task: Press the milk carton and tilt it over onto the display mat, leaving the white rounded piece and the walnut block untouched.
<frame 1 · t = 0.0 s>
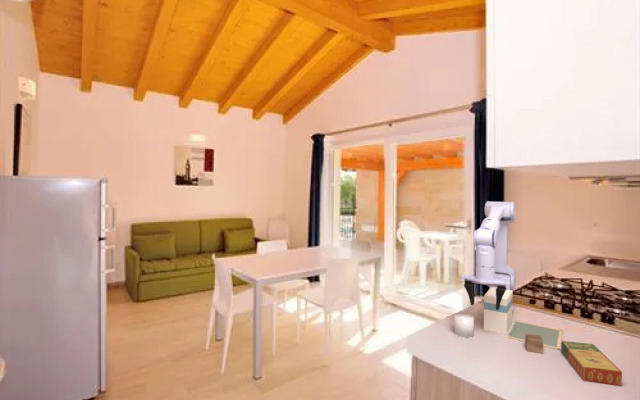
hand: (484, 306, 113), 10 cm above the worktop, fingers open, 7 cm apart
carton: (588, 369, 93), on the worktop
walnut block: (533, 350, 104), on the worktop
display mat: (535, 334, 114), on the worktop
white rounded piece: (463, 334, 115), on the worktop
milk carton: (498, 326, 121), on the worktop
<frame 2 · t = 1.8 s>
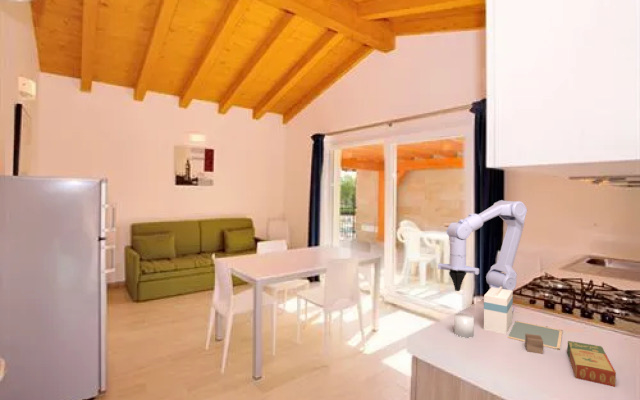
hand: (457, 290, 129), 10 cm above the worktop, fingers closed
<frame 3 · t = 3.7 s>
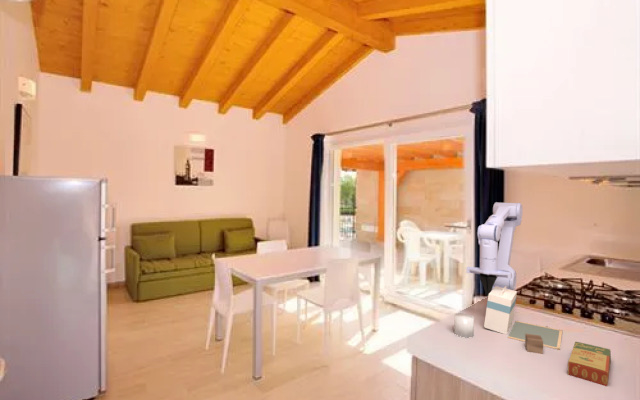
hand: (488, 295, 123), 10 cm above the worktop, fingers closed
milk carton: (498, 325, 121), on the worktop, tilted 7°
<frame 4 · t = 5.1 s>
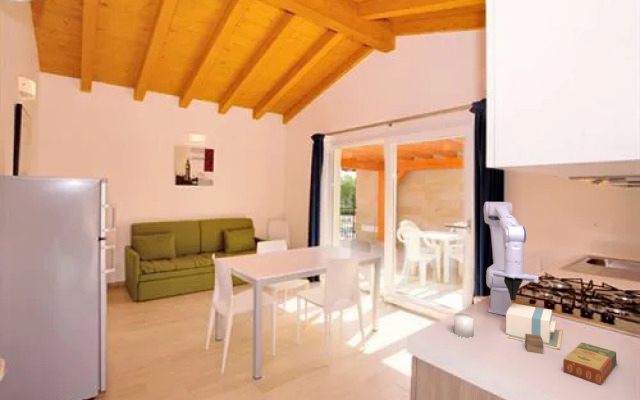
hand: (513, 299, 118), 10 cm above the worktop, fingers closed
milk carton: (509, 317, 119), point 4 cm above the worktop, tilted 90°, touching display mat
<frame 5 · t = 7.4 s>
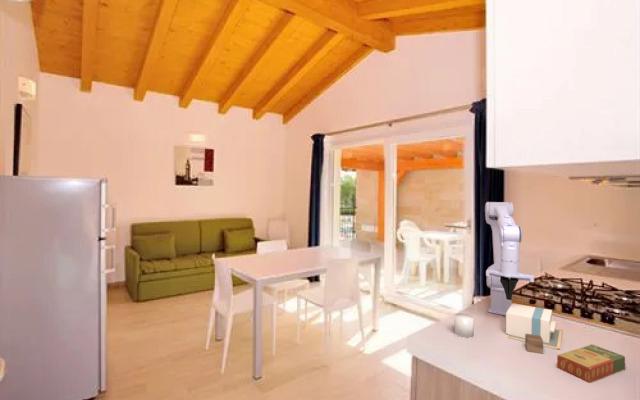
hand: (509, 299, 119), 10 cm above the worktop, fingers closed
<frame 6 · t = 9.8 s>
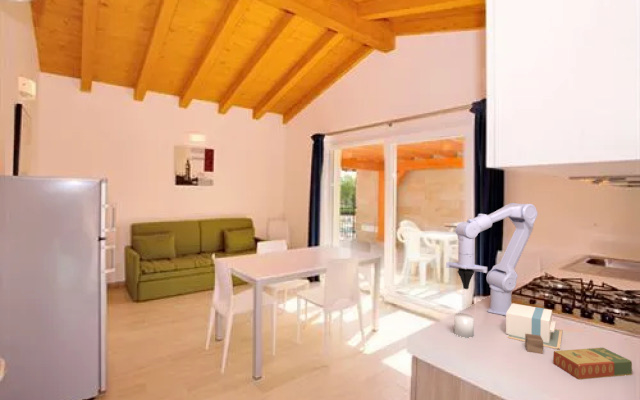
hand: (466, 288, 131), 10 cm above the worktop, fingers closed
at the end: milk carton tilted 90°; milk carton inside the target area (4.6 cm from its centre), point 3.7 cm above the worktop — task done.
